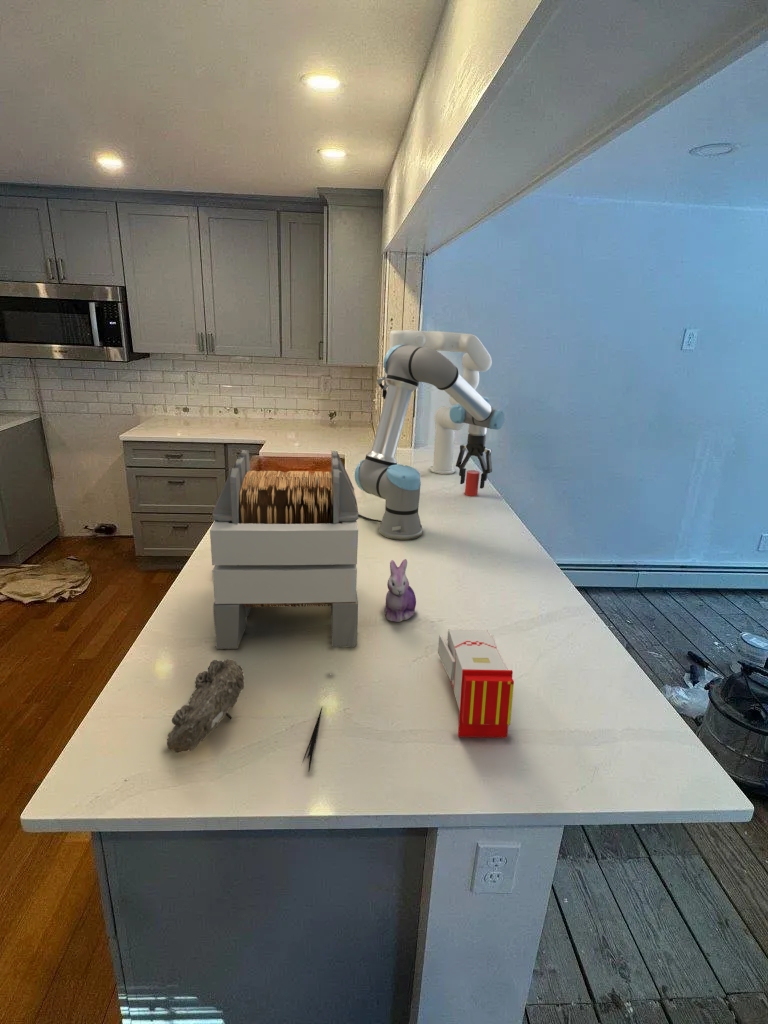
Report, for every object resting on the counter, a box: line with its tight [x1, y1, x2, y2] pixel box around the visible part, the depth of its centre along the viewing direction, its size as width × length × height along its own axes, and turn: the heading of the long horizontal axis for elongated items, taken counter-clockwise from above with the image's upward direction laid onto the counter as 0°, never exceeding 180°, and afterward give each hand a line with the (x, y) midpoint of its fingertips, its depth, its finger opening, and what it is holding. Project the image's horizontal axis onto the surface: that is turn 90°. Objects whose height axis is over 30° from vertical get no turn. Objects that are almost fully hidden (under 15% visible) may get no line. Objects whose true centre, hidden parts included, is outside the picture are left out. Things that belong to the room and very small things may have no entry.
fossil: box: [166, 658, 245, 754], centre depth 106 cm, size 22×10×15 cm
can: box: [464, 469, 481, 497], centre depth 245 cm, size 6×6×10 cm
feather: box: [301, 673, 332, 771], centre depth 108 cm, size 2×28×2 cm
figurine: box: [384, 558, 417, 623], centre depth 145 cm, size 9×10×15 cm
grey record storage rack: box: [209, 449, 360, 651], centre depth 139 cm, size 34×33×41 cm
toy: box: [437, 628, 515, 738], centre depth 117 cm, size 12×13×30 cm
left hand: (472, 485), depth 245 cm, fingers open, 9 cm apart
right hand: (395, 398), depth 255 cm, fingers open, 9 cm apart
